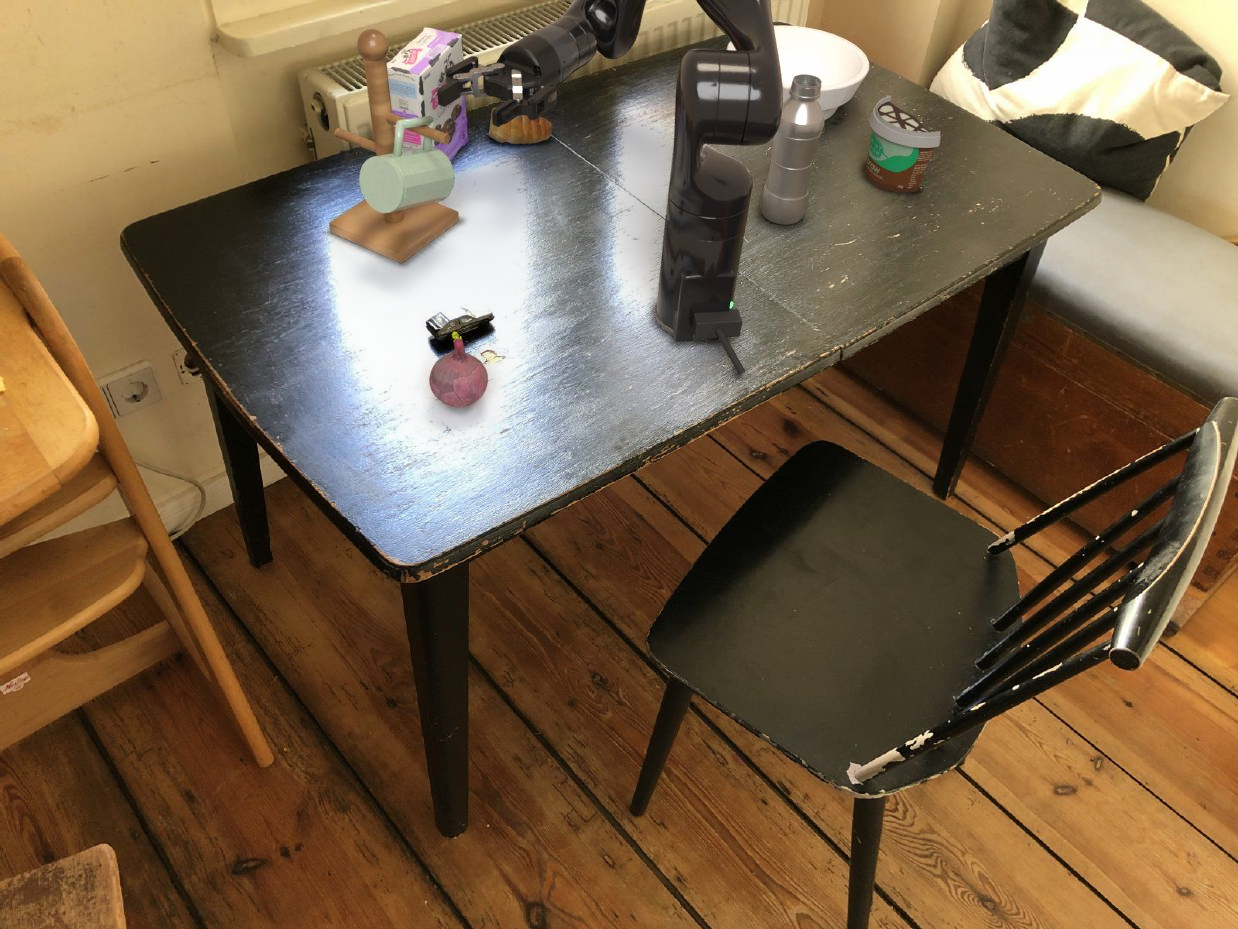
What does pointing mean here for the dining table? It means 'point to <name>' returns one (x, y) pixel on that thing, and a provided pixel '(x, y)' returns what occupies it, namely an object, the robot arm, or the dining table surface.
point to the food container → (898, 148)
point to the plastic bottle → (793, 153)
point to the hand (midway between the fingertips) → (467, 109)
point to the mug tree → (362, 223)
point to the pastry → (521, 130)
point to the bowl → (820, 63)
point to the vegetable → (458, 377)
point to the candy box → (428, 88)
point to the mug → (407, 173)
